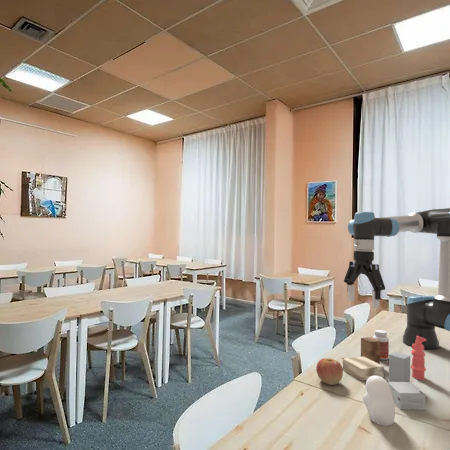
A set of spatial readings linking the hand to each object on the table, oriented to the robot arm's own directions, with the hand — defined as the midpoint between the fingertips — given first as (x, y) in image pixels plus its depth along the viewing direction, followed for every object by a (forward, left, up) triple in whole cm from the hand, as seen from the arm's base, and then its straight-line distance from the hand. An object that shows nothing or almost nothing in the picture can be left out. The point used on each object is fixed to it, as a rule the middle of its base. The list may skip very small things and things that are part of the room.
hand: (362, 304), depth 133 cm
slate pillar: (-1, +17, -24) cm, 30 cm away
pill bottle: (-14, -5, -24) cm, 28 cm away
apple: (+22, +9, -24) cm, 34 cm away
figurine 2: (-12, +15, -24) cm, 31 cm away
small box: (+8, +28, -24) cm, 38 cm away
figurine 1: (+23, +33, -24) cm, 47 cm away
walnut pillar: (-4, 0, -24) cm, 24 cm away
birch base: (+5, +6, -24) cm, 25 cm away
